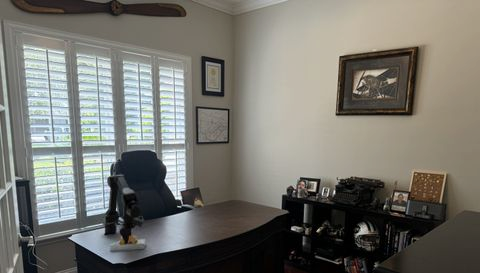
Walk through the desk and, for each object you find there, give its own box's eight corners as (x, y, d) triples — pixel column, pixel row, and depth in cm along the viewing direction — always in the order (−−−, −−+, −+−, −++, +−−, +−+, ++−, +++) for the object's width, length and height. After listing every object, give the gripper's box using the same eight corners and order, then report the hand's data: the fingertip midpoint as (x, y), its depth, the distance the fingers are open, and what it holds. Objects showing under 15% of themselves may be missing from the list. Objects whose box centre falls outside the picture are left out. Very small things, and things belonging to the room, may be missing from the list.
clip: (120, 249, 159) (120, 238, 159) (121, 247, 162) (121, 236, 162) (135, 248, 161) (135, 237, 161) (136, 246, 163) (136, 235, 163)
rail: (110, 251, 156) (110, 245, 156) (113, 246, 163) (113, 241, 163) (143, 248, 160) (143, 243, 160) (145, 244, 166) (145, 239, 166)
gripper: (140, 218, 154) (140, 246, 154) (145, 209, 172) (144, 234, 172) (119, 219, 151) (119, 247, 151) (126, 210, 170) (125, 235, 170)
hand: (128, 240), depth 161 cm, fingers open, 9 cm apart
